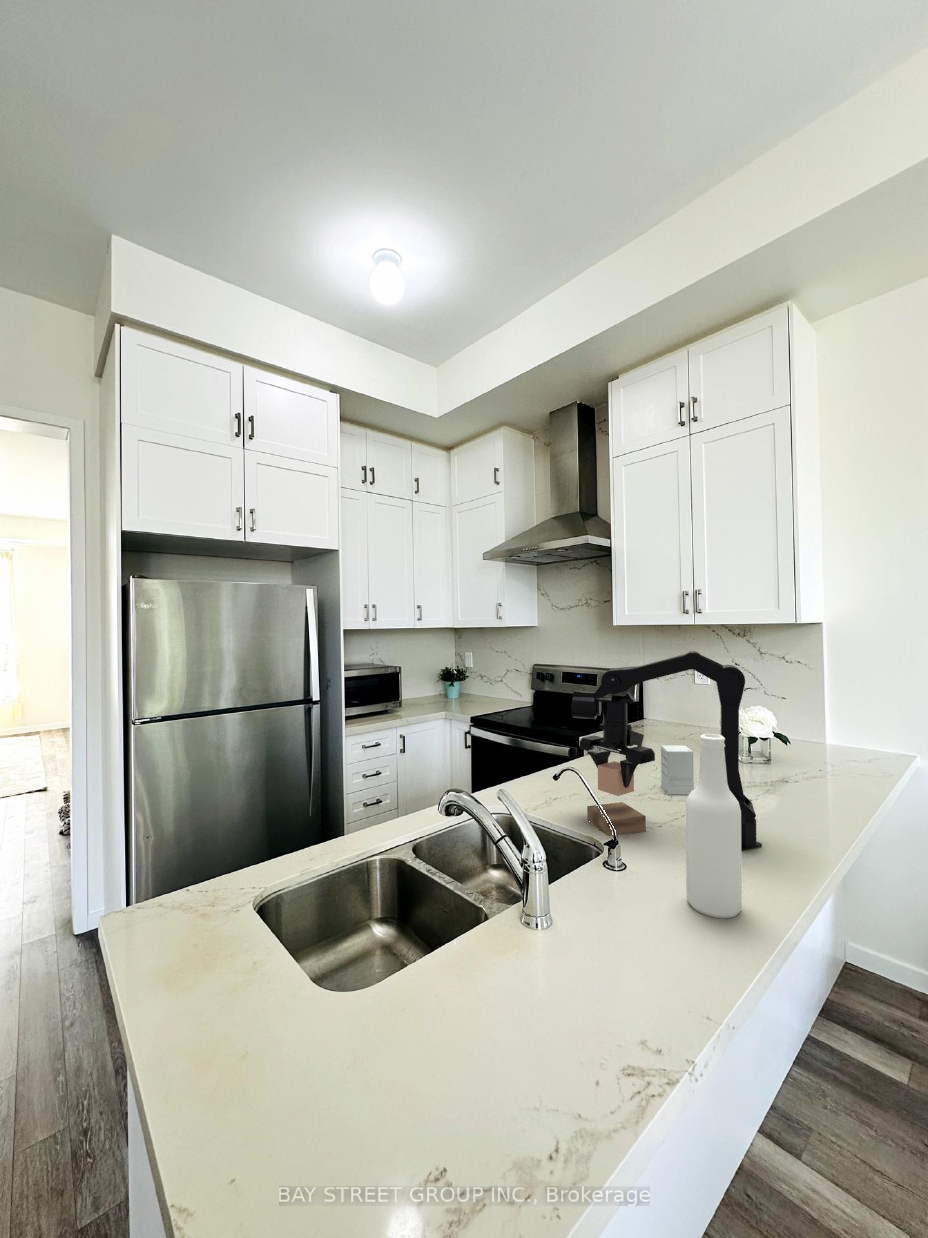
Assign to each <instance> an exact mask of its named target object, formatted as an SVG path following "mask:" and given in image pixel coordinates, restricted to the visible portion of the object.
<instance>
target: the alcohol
mask: <svg viewBox="0 0 928 1238" xmlns="http://www.w3.org/2000/svg"><path fill="white" fill-rule="evenodd" d="M699 738H700V742H699V746H700V752H699V753H700V755H699V768H698V781H697V784H696V786H694V789H693V790H692V791H691V793H690V794H689V795H687V799H686V801H685V802H686V803H685V855H686V857H685V858H686V859H685V861H686V862H685V864H686V865H685V867H686V871H685V872H686V874H685V875H686V877H685V878H686V881H685V883H686V898H687V901H688V903H689V904H690V905H691V907H692V908H693V909H694V910H695V911H697V912H698V913H700V914H702V915H704V916H708V917H711V918H715V919H731V918H735V917H736V916H737V915H739V913H740V912H741V910H742V908H743V905H742V904H743V903H742V902H743V899H742V898H743V897H742V891H743V890H742V888H743V887H742V883H743V881H742V880H743V879H742V875H743V874H742V873H743V872H742V850H741V810H740V806H739V802H738V801H737V799H736V798H735V796H734V795H733V794H732V793H731V791H730V790H729V787H728V784H727V774H726V763H725V752H724V747H725V744H724V740H725V738H724V737H723V736H721V735H720V734H718V733H717V734H716V733H703V734H701V735H700V736H699Z"/></svg>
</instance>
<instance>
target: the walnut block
mask: <svg viewBox="0 0 928 1238" xmlns="http://www.w3.org/2000/svg"><path fill="white" fill-rule="evenodd" d="M596 805H597V804H594V805H593V804H591V805H587V807H586V809H587V811H586V814H587V815H586V817H587V819H586V820H588V821H587V822H589V821H590V822H589V823H590V824H591V823H592V826H594V827H595V826H596V827H595V828H597V829H598V828H599V829H598V830H599V831H600V832H602V833H603V834H604V835H606V836H607V837H614V836H613V835H612V830H611V829H610V826H609V823H607V821H606V819H605V817H603V814H601V812H600V809H599V808H598V806H596ZM600 805H601V806H602V807H603V810H605V812H606V814H607V816H608V817H609V819H610V821H611V823H612V825H613V826H614V829H615V830H616V834H617V835H616V836H621V835H622V836H623V835H628V834H636V833H643V832H646V831H647V830H646V829H647V828H646V827H647V826H646V825H647V823H646V819H647V817H646V815H645V814H644V813H641V812H640V811H638V810H637V809H634V807H631V806H630V805H628V804H627V803H624V802H623V801H621V802H620V801H619V802H612V803H602V804H600Z"/></svg>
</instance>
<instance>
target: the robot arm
mask: <svg viewBox="0 0 928 1238" xmlns="http://www.w3.org/2000/svg"><path fill="white" fill-rule="evenodd" d="M690 670H694V671H695V672H697V673H699V674H701V675H703V677H706V678H708V679H710V680H711V681H713V682H714V683H715V682H716V683H715V684H716V687H717V688H716V689H717V695H718V699H719V703H720V704H719V705H720V734H719V735H721V736H723V737H724V738H725V740H724V744H725V747H724V752H725V763H726V774H727V784H728V787H729V790H730V791H731V793H732V794H733V795H734V796H735V798H736V799H737V801H738V802H739V806H740V810H741V851H745V850H750V849H755V848H761V847H762V846H763V844H762V843H761V842H758V841H757V818H756V817H757V814H756V811H755V808H754V805H753V802H752V801H751V800H750V799H749V798H748V797H747V796H746V795H745V794H744V789H743V783H742V781H741V775H740V767H739V766H740V765H739V763H740V759H739V758H740V757H739V755H740V754H739V753H740V707H741V702H742V699H743V694H744V689H745V685H746V677H745V674H744V673H743V671H741V669H740V668H738V667H737V666H735V665H734V664H721V663H720V662H717V661H715V660H714V659H711V658H709V657H706V656H705V655H703V654H701V653H700V652H698V651H695V650H691V651H688V652H686V653H683V654H680V655H676V656H671V657H669V658H665V659H660V660H658V661H654V662H650V663H646V664H642V665H638V666H624V667H614V668H610V669H608V670H607V671H606V672H604V673H603V675H602V676H601V680H600V683H601V684H600V685H599V687H598V688H596V689H595V691H584V690H583V691H582V690H579V689H578V690H574V691H573V693H572V694H573V697H572V701H571V705H570V708H571V709H570V712H571V713H570V714H571V717H572V718H573V719H586V720H587V719H589V720H596V719H597V717H598V716H601V714H602V723H600V724H599V729H601V730H602V734H603V735H602V736H598V735H595V734H594V735H590V736H584V737H581V738H580V741H579V749H580V750H582V751H585V752H587V755H589V756H590V758H591V759H592V761H593V763H594V765H595V766H596V769H598V765H601V764H605V763H609V757H610V755H611V753H614V754H619V755H623V756H625V759H622V760H619V763H620V766H621V772H622V779H623V784H624V787H625V788H627V787H629V784H630V781H631V779H632V776H633V773H634V774H635V771H636V770H637V767H638V766H639V765H643V764H647V763H651V762H654V761H655V760H656V753H655V751H654V749H653V748H650V747H646V746H643V742H644V741H643V740H644V736H645V734H643V733H639V732H638V731H634V730H632V729H633V727H632V725H631V724H630V723H628V704H634V703H636V698H635V697H634V696H632V695H631V693H630V692H629V691H627V690H629V689H631V688H632V687H635V686H637V685H639V684H642V683H643V682H648V681H651V680H655V679H659V678H663V677H667V676H670V675H673V674H678V673H683V672H685V671H690ZM624 691H627V692H626V693H625V694H624V695H623V694H619V693H622V692H624ZM609 694H611V697H606V696H608V695H609Z"/></svg>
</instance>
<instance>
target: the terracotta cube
mask: <svg viewBox="0 0 928 1238" xmlns="http://www.w3.org/2000/svg"><path fill="white" fill-rule="evenodd" d="M634 775H635V772H634V773H633V776H632V779H631V781H630V784H629V787H627V788H625V787H624V784H623V779H622V772H621V766H620V761H619V762H618V761H608V763H605V764H601V765H598V768H597V790H598V791H601V792H604V793H607V794H610V795H613V796H616V797H620V796H623V795H627V794H630V793H633V792H635V776H634Z"/></svg>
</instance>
